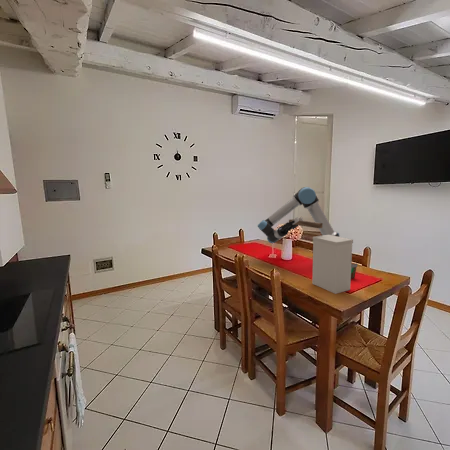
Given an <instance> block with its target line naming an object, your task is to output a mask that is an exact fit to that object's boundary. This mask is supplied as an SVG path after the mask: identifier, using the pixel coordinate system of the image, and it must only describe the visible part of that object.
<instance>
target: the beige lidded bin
mask: <svg viewBox="0 0 450 450" xmlns="http://www.w3.org/2000/svg"><path fill="white" fill-rule="evenodd" d="M312 243H313V244H312V245H313V246H312V280H311V281H312V285H315V286H317V287H318V288H319V287H320V288H322V289H324V290H325V291H326V290H327V291H328V292H330V293H333V294H335V295H336V294H340V293H344V292H347V291H351V282H352V281H351V280H352V279H351V264H352V259H353V258H352V257H353V243H354V239H353V238H352V239H351V238H346V237H342V236H339V237H338V236H333V235H317V236H312Z"/></svg>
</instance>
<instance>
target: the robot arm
mask: <svg viewBox="0 0 450 450" xmlns="http://www.w3.org/2000/svg"><path fill="white" fill-rule="evenodd" d="M319 200H320V199H319V197H318V196H317V194H316V192H315V190H314V189H313V188H311V187H310V186H305V187H301V188H300V189H299V190H298V191H297V192H296V193H295V194H294V195H293V196H292V198H291V199H290V200H289V201H287V202H286V203H285V204H284V205H282V206H281V207H280V208H279V209H277V210H276V211H275V212H274V213H273V214H271V215H270V216H269V217H268V218H267V219H265V220H264V219H263V220H261V221H260V222H259V223H258V224H257V227H258V229H259V231H260V232H262V233H263V234H264V235H265V236H266V239H267V241H268V243H269V244H274V243H276V242H278V241H279V240H282V238H284V237H286V236H287V235H288V234H289V232H290V231H291V230H295V229H296V228H297V227H299V225H294V224H295V223H297V222H298V221H299V220H302V221H304V219H303V217H302V216H300V217H295V218H294V220H293V221H291V222H289V221H287V222H286V223H284V224H283V225H280V226H279V227H278V228H276V229H274V228H273V226H275V225H276V224H277V223H279V222H280V221H281V220H282V219H283V218H285V217H286V216H287V215H289V214H290V213H291V212H292V211H294V210H295V209H297V208H298V207H299V206H303V208H304V209H306V210H308V212H309V215H310V216H311V218H312V219H313V222H318V223H323V225H322V228H318V230H319V232H320V234H321V236H323V235H333V236H338V237H340V233H339V232H338V231H335V230H334V229H333V227H332V225H331V223H330V222H329V220H328V218H327V216H326V215H325V213H324V211H323V209H322V207H321V206H320V204H319V202H320V201H319Z"/></svg>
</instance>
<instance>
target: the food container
mask: <svg viewBox="0 0 450 450" xmlns="http://www.w3.org/2000/svg"><path fill="white" fill-rule="evenodd" d="M357 268H358V264H357V263H351V280H352V279H355V278H356V272H357Z"/></svg>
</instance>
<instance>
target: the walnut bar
mask: <svg viewBox="0 0 450 450" xmlns="http://www.w3.org/2000/svg"><path fill="white" fill-rule="evenodd" d="M294 219H295V218H294ZM294 219H293V218H291V219H288V222H291V221H293V220H294ZM294 225H298V226H301V227H307V228H314V229H319V228H322V225H323V223H318V222H315V221H311V220H310V221H308V220H303V221H302V220H299V221H298V222H297V223H295V224H294Z"/></svg>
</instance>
